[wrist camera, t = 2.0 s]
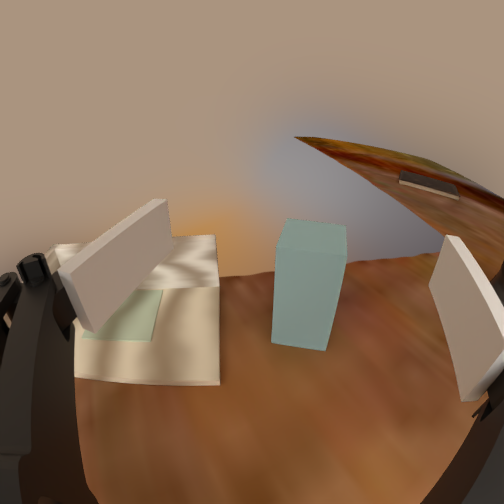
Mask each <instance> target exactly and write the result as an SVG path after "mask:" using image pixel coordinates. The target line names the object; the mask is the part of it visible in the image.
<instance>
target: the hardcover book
mask: <svg viewBox="0 0 504 504" xmlns="http://www.w3.org/2000/svg"><path fill="white" fill-rule="evenodd" d="M399 183H400V184H404V185H408V186H411V187H415V188H419V189H422V190H426V191H430V192H433V193H436V194H440V195H443V196H446V197H450V198H453V199H456V200H459V197H460V195H459V193H458V190H457V188H456V186H455V185H453V184H450V183H446V182H443V181H440V180H436V179H433V178H429V177H425V176H422V175H418V174H414V173H410V172H406V171H402V170H401V173H400V177H399Z"/></svg>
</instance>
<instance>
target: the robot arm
mask: <svg viewBox="0 0 504 504" xmlns="http://www.w3.org/2000/svg"><path fill="white" fill-rule="evenodd" d="M173 249H174V247H173V241H172V234H171V227H170V220H169V211H168V204H167V199H153V200H151V201H150V202H149V203H147V204H145V205H144V206H142V207H141V208H139V209H138V210H136V211H135V212H134V213H132V214H131V215H129V216H128V217H126V218H125V219H123V220H122V221H120V222H119V223H118V224H116V225H115V226H113V227H112V228H111V229H109V230H108V231H106V232H105V233H104V234H102V235H101V236H100V237H98V238H97V239H96V240H94V241H93V242H92V243H90V244H89V245H88V246H86V247H85V248H84V249H82V250H81V251H80V252H79V253H77V254H76V255H75V256H73V257H72V258H71V259H70V260H68V261H67V262H66V263H65V264H63V265H62V266H61V267H60V268H59V269H57V271H56V272H54V273H53V274H51V272H50V269H49V266H48V264H47V261H46V258H45V255H44V254H42V253H34V254H31V255H29V256H27V257H25V258H24V259H22V260H21V261H20V262H19V263H18V265H17V266H16V267H17V269H18V271H19V274H20V276H21V279H22V281H23V283H20V281H19V278H18V276H17V274H16V273H15V272H10V273H5V274H3V275H2V276H1V277H0V504H98V502H97V500H96V498H95V496H94V495H93V494H92V492H91V491H90V490H89V488H88V486H87V483H86V479H85V475H84V469H83V464H82V458H81V451H80V445H79V437H78V428H77V418H76V405H75V383H74V348H75V326H74V324H73V321H74V320H75V318H76V317H77V318H78V320H79V322H80V324H81V326H82V328H83V329H85V330H88V331H90V332H92V333H94V334H96V333H97V332H98V330H99V329H100V328H101V327H102V326H103V325H104V324H105V322H106V321H107V320H108V319H109V318H110V317H111V316H112V314H113V313H114V312H115V311H116V310H117V309H118V308H119V306H120V305H121V304H122V303H123V302H124V301H125V300H126V299H127V298H128V297H129V295H130V294H131V293H132V292H133V291H134V290H135V289H136V288H137V287H138V286H139V285H140V283H141V282H142V281H143V280H144V279H145V278H146V277H147V276H148V275H149V274H150V273H151V272H152V271H153V270H154V268H155V267H156V266H157V265H158V264H159V263H160V262H161V261H162V260H163V259H164V258H165V257H166V256H167V255H168V254H169V253H170V252H171V251H172V250H173ZM429 288H430V291H431V293H432V296H433V299H434V302H435V305H436V307H437V310H438V313H439V316H440V320H441V323H442V326H443V329H444V332H445V336H446V339H447V343H448V346H449V350H450V354H451V357H452V361H453V365H454V370H455V374H456V378H457V383H458V388H459V393H460V398H461V402H467V401H477V400H478V399H479V398H480V397H481V396H482V395H483V394H484V393H485V392H486V391H487V392H488V396H489V398H488V399H487V400H486V402H485V403H484V404H483V405H482V406H481V407H480V408H479V409H478V410H477V411H476V412H475V413H474V414H473V415H472V417H473V418H474V417H475V416H476V415H477V414H478V416H477V418H476V420H475V422H474V424H473V426H472V428H471V430H470V432H469V433H468V435H467V437H466V439H465V440H464V442H463V444H462V446H461V447H460V449H459V450H458V452H457V454H456V455H455V457H454V458H453V460H452V462H451V463H450V465H449V466H448V468H447V469H446V470H445V472H444V473H443V475H442V476H441V478H440V479H439V480H438V482H437V483H436V484H435V486H434V487H433V488H432V490H431V491H430V492H429V493H428V495H427V496H426V497H425V498H424V500H423V501H422V502H421V503H420V504H504V261H503V264H502V266H501V269H500V271H499V272H498V273H497V274H496V275H495V277H494V278H493V279H492V280H491V282H489V281H488V279H487V277H486V276H485V274H484V273H483V271H482V269H481V268H480V266H479V265H478V263H477V262H476V260H475V259H474V257H473V256H472V254H471V253H470V252H469V250H468V249H467V247H466V246H465V244H464V243H463V242H462V240H461V239H460V238H459V237H456V236H451V235H446V236H445V240H444V242H443V246H442V249H441V252H440V255H439V258H438V261H437V263H436V266H435V269H434V272H433V275H432V277H431V280H430V282H429ZM5 314H7V315H8V317H9V319H10V321H11V322H12V323H11V326H10V328H9V327H8V325H7V324H6V322H5V320H4V319H3V317H4V316H5Z"/></svg>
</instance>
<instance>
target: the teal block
mask: <svg viewBox="0 0 504 504" xmlns="http://www.w3.org/2000/svg"><path fill="white" fill-rule="evenodd" d="M346 261H347V237H346V226H345V225H338V224H331V223H323V222H315V221H306V220H298V219H289V218H287V220H286V223H285V225H284V228H283V231H282V233H281V236H280V238H279V240H278V243H277V245H276V260H275V281H274V302H273V321H272V338H271V343H276V344H282V345H288V346H294V347H300V348H307V349H314V350H321V351H326V347H327V344H328V340H329V336H330V332H331V328H332V324H333V320H334V316H335V312H336V308H337V304H338V299H339V295H340V290H341V286H342V281H343V276H344V271H345V266H346Z"/></svg>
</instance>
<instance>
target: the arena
mask: <svg viewBox="0 0 504 504" xmlns="http://www.w3.org/2000/svg"><path fill="white" fill-rule="evenodd" d="M172 241H173V247H174V249H173V250H172V251H171V252H170V253H169V254H168V255H167V256H166V257H165V258H164V259H163V260H162V261H161V262H160V263H159V264H158V265H157V266H156V267H155V268H154V270H153V271H152V272H151V273H150V274H149V275H148V276H147V277H146V278H145V279H144V280H143V281H142V282H141V283H140V285H139V286H138V287H137V288H136V289H135V290H134V291H133V292H132V293H131V294H130V295H129V297H128V298H127V299H126V300H125V301H124V302H123V303H122V304H121V305H120V306H119V308H118V309H117V310H116V311H115V312H114V313H113V314H112V316H111V317H110V318H109V319H108V320H107V321H106V322H105V324H104V325H103V326H102V327H101V328H100V329H99V330H98V332H97V333H96V334H94V333H92V332H90V331H88V330H85V329H83V328H82V326H81V324H80V322H79V320H78V318H77V317H76V318H75V320H74V321H73V324H74V326H75V348H74V377H78V378H85V379H93V380H101V381H110V382H120V383H132V384H148V385H174V386H210V385H220V281H219V272H218V260H217V248H216V235H198V236H180V237H172ZM90 243H92V242H90ZM90 243H77V244H65V245H59V244H54V245H52V247H50V249H49V250H48V251H47V252H46V253H45V254H44V255H45V258H46V261H47V264H48V266H49V269H50V272H51V274H53V273H54V272H56V271H57V269H59V268H60V267H61V266H62V265H63V264H65V263H66V262H67V261H68V260H70V259H71V258H72V257H73V256H75V255H76V254H77V253H79V252H80V251H81V250H82V249H84V248H85V247H86V246H88V245H89V244H90ZM21 283H23V281H22V282H21ZM3 319H4V320H5V322H6V324H7V325H8V327H9V328H10V326H11V323H12V322H11V321H10V319H9V317H8V315H7V314H5V316H4V317H3Z"/></svg>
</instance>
